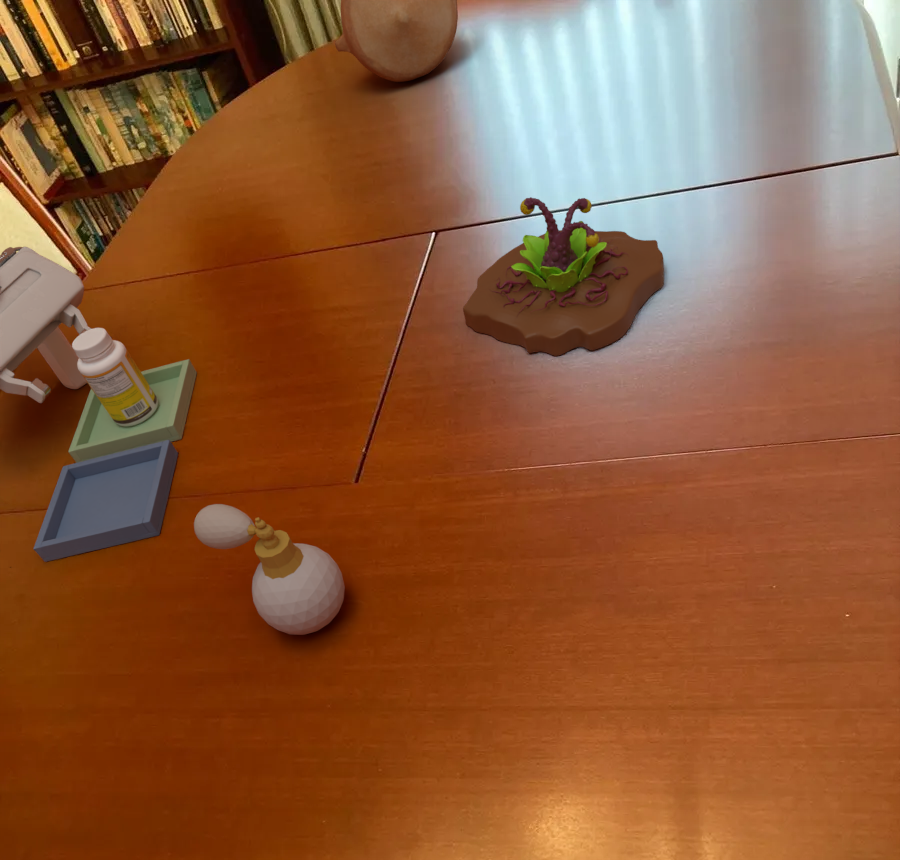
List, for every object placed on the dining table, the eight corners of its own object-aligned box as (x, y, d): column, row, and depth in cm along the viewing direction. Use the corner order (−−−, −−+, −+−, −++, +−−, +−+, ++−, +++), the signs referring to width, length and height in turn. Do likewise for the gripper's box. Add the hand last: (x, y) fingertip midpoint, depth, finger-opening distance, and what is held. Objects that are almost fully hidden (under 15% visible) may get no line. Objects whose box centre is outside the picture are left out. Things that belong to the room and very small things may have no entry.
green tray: (78, 465, 99) (67, 451, 97) (101, 397, 107) (92, 384, 105) (181, 439, 97) (172, 425, 95) (197, 372, 105) (189, 358, 103)
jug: (321, 40, 136) (302, 18, 158) (420, 117, 145) (388, 87, 168) (393, -93, 128) (361, -95, 150) (492, -1, 138) (448, -17, 160)
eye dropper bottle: (59, 397, 109) (-2, 313, 101) (62, 373, 113) (4, 291, 104) (91, 385, 109) (34, 300, 100) (93, 362, 113) (38, 278, 104)
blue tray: (44, 562, 89) (32, 548, 87) (73, 479, 97) (62, 466, 95) (159, 535, 87) (149, 521, 85) (178, 453, 95) (169, 439, 94)
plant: (535, 239, 105) (517, 144, 97) (689, 256, 94) (684, 151, 86) (441, 338, 96) (412, 243, 88) (598, 368, 86) (583, 264, 78)
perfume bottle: (353, 642, 71) (298, 541, 63) (242, 662, 73) (173, 567, 64) (357, 574, 76) (306, 472, 67) (253, 594, 78) (190, 497, 69)
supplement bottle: (132, 396, 104) (84, 322, 96) (169, 398, 102) (122, 322, 94) (106, 428, 101) (54, 353, 94) (142, 430, 99) (93, 354, 91)
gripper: (15, 258, 104) (119, 330, 107) (-107, 366, 93) (14, 443, 96) (18, 220, 99) (128, 297, 102) (-111, 330, 88) (17, 412, 91)
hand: (72, 369), depth 99 cm, fingers open, 8 cm apart
